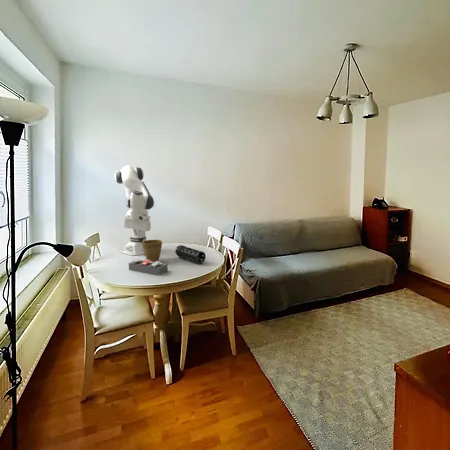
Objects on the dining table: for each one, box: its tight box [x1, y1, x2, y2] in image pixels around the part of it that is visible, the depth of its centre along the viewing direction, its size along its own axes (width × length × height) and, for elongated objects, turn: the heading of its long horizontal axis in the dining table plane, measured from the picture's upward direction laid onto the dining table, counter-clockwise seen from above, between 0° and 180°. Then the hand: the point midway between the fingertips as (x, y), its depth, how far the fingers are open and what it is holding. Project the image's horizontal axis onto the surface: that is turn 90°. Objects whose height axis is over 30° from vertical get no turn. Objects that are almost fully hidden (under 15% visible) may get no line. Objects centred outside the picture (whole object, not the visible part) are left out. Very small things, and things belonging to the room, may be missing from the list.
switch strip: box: [128, 259, 169, 276], centre depth 209 cm, size 26×10×5 cm, turn 65°
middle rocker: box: [142, 259, 151, 265], centre depth 207 cm, size 3×6×2 cm, turn 156°
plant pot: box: [142, 239, 163, 262], centre depth 229 cm, size 15×15×16 cm
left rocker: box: [132, 259, 143, 263], centre depth 211 cm, size 3×6×2 cm, turn 155°
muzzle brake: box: [174, 244, 206, 265], centre depth 233 cm, size 10×28×10 cm, turn 45°
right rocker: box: [151, 260, 161, 267], centre depth 204 cm, size 3×6×2 cm, turn 155°
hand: (137, 235), depth 203 cm, fingers closed
